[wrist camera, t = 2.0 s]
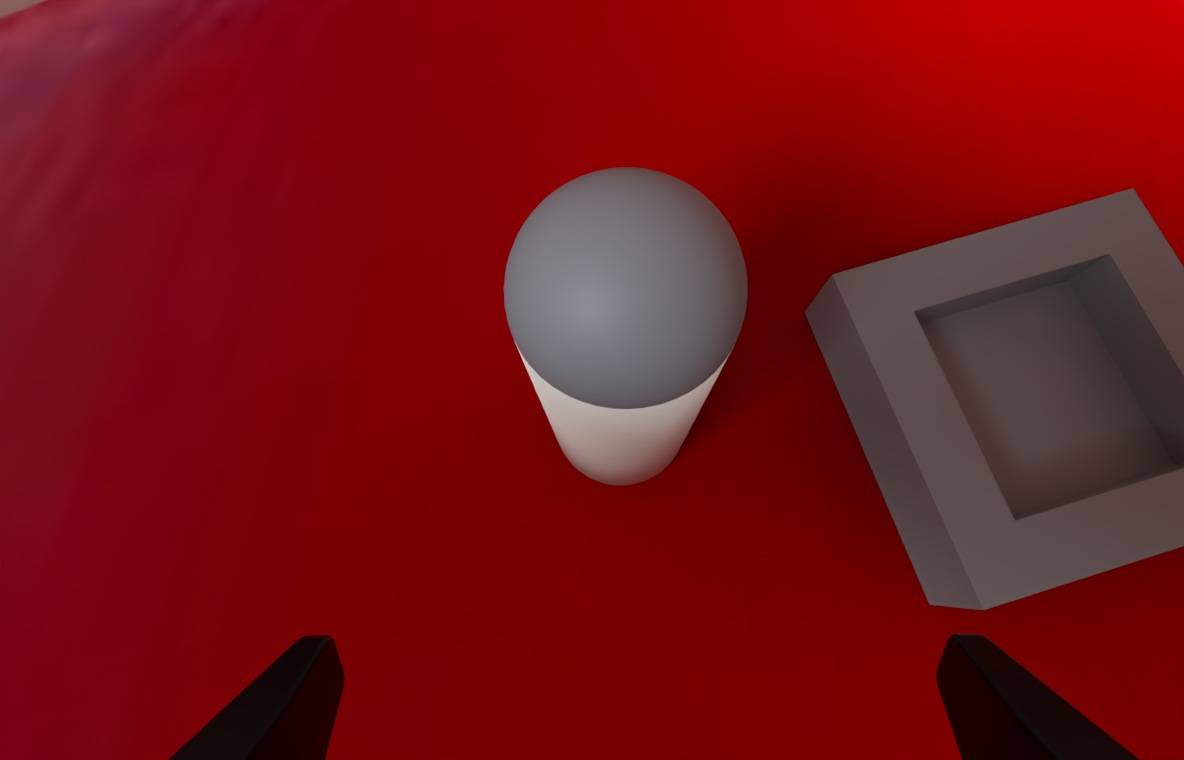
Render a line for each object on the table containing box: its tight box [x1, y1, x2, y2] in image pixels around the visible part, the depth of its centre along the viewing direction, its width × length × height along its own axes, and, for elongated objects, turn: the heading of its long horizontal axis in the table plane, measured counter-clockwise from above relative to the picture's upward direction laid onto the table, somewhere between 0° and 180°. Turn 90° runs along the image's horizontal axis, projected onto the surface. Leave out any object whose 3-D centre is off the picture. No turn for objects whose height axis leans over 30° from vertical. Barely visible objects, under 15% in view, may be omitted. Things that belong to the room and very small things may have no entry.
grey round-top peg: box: [504, 167, 747, 485], centre depth 17 cm, size 5×5×13 cm
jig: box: [805, 188, 1184, 610], centre depth 21 cm, size 11×11×3 cm
